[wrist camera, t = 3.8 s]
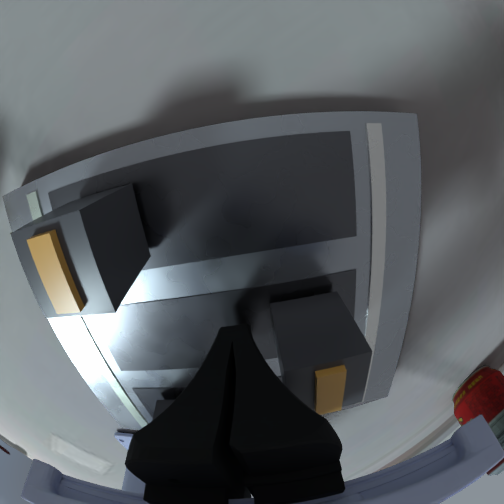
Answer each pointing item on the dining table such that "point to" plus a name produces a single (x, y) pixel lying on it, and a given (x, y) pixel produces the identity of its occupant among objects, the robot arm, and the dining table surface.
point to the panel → (246, 243)
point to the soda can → (483, 404)
